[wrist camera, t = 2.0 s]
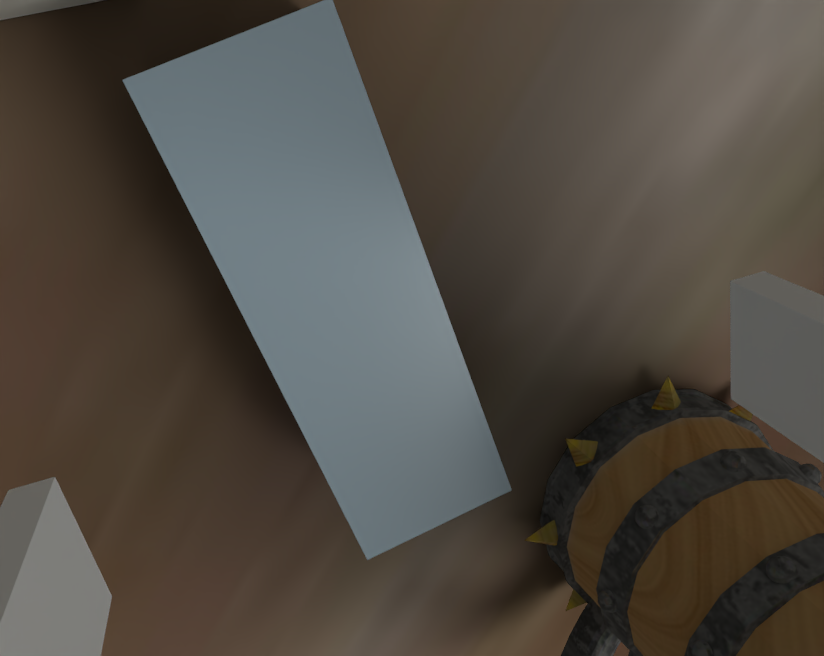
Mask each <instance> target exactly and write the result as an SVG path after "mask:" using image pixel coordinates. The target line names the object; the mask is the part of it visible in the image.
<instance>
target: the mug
mask: <svg viewBox="0 0 824 656" xmlns="http://www.w3.org/2000/svg"><path fill="white" fill-rule="evenodd" d="M752 415H753V414H752V413H751V412H749V411H748V410H746V409H745V408H743V407H742V406H741V405H739V406H737V407H735V408H733V409H732V408H731V407H730V406H728V405H727V404H725V403H723V402H721V401H718V400H716V399H714V398H712V397H710V396H708V395H706V394H704V393H701V392H699V391H697V390H695V389H680V390H675V389H674V387H673V385H672V383H671V381H670V379H669V377H668V376H667V378H666V380H665V382H664V384H663V386H662V388H661V390H652V391H650V392H647V393H645V394H642V395H640V396H638V397H635V398H633V399H630V400H628V401H625V402H623V403H621V404H618V405H616V406H613V407H611V408H609V409H608V410H607V411H606V412H605V413H603V414H602V415H601V416H600V417H599V418H597V419H596V420H595V421H594V422H593V423H592V424H590V425H589V426H588V427H587V428H586V429H585V430H583V431H582V432H581V433H580V434H579V435H577V436H576V437H575V438H574V439H566V442H567V444H568V448H567V449H566V451H565V453H564V454H563V456H562V458H561V459H560V461H559V463H558V464H557V466H556V467H555V469H554V471H553V472H552V474H551V476H550V477H549V479H548V482H547V487H546V492H545V497H544V502H543V507H542V512H541V517H540V523H541V527H542V528H540V529H539V530H538V531H536V532H535V533H534V534H532V535H531V536H530V537H528V538H527V539H526V540H525V541H531V542H537V543H542V544H546V546H547V550H548V554H549V556H550V557H551V559H552V560H553V561H554V562H555V563H556V564H557V565H558V566H559V567H560V568H561V569H562V570H563V571H564V575H565V579H566V581H567V583H568V584H569V585H570V586H571V587H572V588H573V592H572V595H571V597H570V600H569V603H568V606H567V608H566V611H567V610H570V609H572V608H574V607H577V606H579V605H582V604H584V603H586V602H587V603H588V604H587V606H586V607H585V609H584V610H583V612H582V613H581V615H580V617H579V619H578V621H577V623H576V624H575V626H574V628H573V630H572V632H571V634H570V636H569V638H568V640H567V643H566V645H565V647H564V650H563V652H562V654H561V656H613V654H614V653H615V651H616V649H617V647H618V645H619V644H620V642H622V643H623V644H624V645H625V646H626V647H627V648H628V649H629V650H630V652H629V656H824V492H823V490H822V489H821V487H820V486H819V485H818V483H819V482H820V480H821V476H822V475H821V472H820V471H819V470H818V468H816V467H815V466H814V465H812V464H803V465H800V464H799V463H798V462H796V461H794V460H792V459H790V458H788V457H785V456H783V455H781V454H779V453H777V452H774V451H773V449H772V448H771V446H770V445H769V443H768V442H767V440H766V438H765V437H764V435H763V434H762V432H761V431H760V429H759V427H758V426H757V425H756V424H754V423H753V422H751V418H752Z"/></svg>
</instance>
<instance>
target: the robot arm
mask: <svg viewBox="0 0 824 656" xmlns="http://www.w3.org/2000/svg"><path fill="white" fill-rule="evenodd" d="M730 307H731V399H732V400H733V401H735V402H736V403H738V404H739V405H741V406H742V407H743V408H745V409H746V410H748V411H749V412H751V413H752V414H754V415H755V416H757V417H758V418H759V419H761V420H762V421H764V422H765V423H767V424H768V425H770V426H771V427H773V428H774V429H775V430H777V431H778V432H780V433H781V434H783V435H784V436H786V437H787V438H789V439H790V440H791V441H793V442H794V443H796V444H797V445H799V446H800V447H802V448H803V449H804V450H806V451H807V452H809V453H810V454H812V455H813V456H815V457H816V458H818V459H819V460H820V461H822V462H823V463H824V296H823V295H820V294H818V293H815V292H813V291H811V290H808V289H806V288H803V287H801V286H799V285H796V284H794V283H791V282H789V281H786V280H784V279H782V278H779V277H777V276H774V275H772V274H769V273H767V272H765V271H763V272H759V273H756V274H753V275H749V276H746V277H742V278H739V279H735V280H732V281H730ZM111 599H112V595H111V593H110V591H109V589H108V587H107V585H106V583H105V581H104V579H103V576H102V574H101V572H100V570H99V568H98V566H97V564H96V562H95V560H94V558H93V556H92V553H91V551H90V549H89V547H88V545H87V543H86V541H85V539H84V537H83V535H82V533H81V530H80V528H79V526H78V524H77V522H76V520H75V518H74V516H73V514H72V512H71V509H70V507H69V505H68V503H67V501H66V499H65V497H64V495H63V493H62V491H61V489H60V486H59V484H58V482H57V480H56V478H55V477H52V478H49V479H45V480H42V481H39V482H35V483H32V484H28V485H25V486H21V487H18V488H14V489H11V490H8V492H7V494H6V497H5V499H4V501H3V503H2V505H1V507H0V656H101V651H102V646H103V641H104V636H105V630H106V625H107V620H108V614H109V609H110V604H111Z"/></svg>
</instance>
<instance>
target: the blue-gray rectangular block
mask: <svg viewBox="0 0 824 656" xmlns="http://www.w3.org/2000/svg"><path fill="white" fill-rule="evenodd" d="M123 82H124V84H125V86H126V88H127V90H128V92H129V94H130V96H131V98H132V100H133V102H134V104H135V106H136V108H137V110H138V112H139V114H140V116H141V118H142V120H143V122H144V124H145V125H146V127H147V129H148V131H149V133H150V135H151V137H152V139H153V141H154V143H155V145H156V147H157V149H158V151H159V153H160V155H161V157H162V159H163V161H164V163H165V165H166V167H167V169H168V171H169V172H170V174H171V176H172V178H173V180H174V182H175V184H176V186H177V188H178V190H179V192H180V194H181V196H182V198H183V200H184V202H185V204H186V206H187V208H188V210H189V212H190V214H191V216H192V217H193V219H194V221H195V223H196V225H197V227H198V229H199V231H200V233H201V235H202V237H203V239H204V241H205V243H206V245H207V247H208V249H209V251H210V253H211V255H212V257H213V259H214V261H215V263H216V264H217V266H218V268H219V270H220V272H221V274H222V276H223V278H224V280H225V282H226V284H227V286H228V288H229V290H230V292H231V294H232V296H233V298H234V300H235V302H236V304H237V306H238V308H239V310H240V311H241V313H242V315H243V317H244V319H245V321H246V323H247V325H248V327H249V329H250V331H251V333H252V335H253V337H254V339H255V341H256V343H257V345H258V347H259V349H260V351H261V353H262V355H263V357H264V358H265V360H266V362H267V364H268V366H269V368H270V370H271V372H272V374H273V376H274V378H275V380H276V382H277V384H278V386H279V388H280V390H281V392H282V394H283V396H284V398H285V400H286V402H287V403H288V405H289V407H290V409H291V411H292V413H293V415H294V417H295V419H296V421H297V423H298V425H299V427H300V429H301V431H302V433H303V435H304V437H305V439H306V441H307V443H308V445H309V447H310V449H311V450H312V452H313V454H314V456H315V458H316V460H317V462H318V464H319V466H320V468H321V470H322V472H323V474H324V476H325V478H326V480H327V482H328V484H329V486H330V488H331V490H332V492H333V494H334V496H335V497H336V499H337V501H338V503H339V505H340V507H341V509H342V511H343V513H344V515H345V517H346V519H347V521H348V523H349V525H350V527H351V529H352V531H353V533H354V535H355V537H356V539H357V541H358V543H359V544H360V546H361V548H362V550H363V552H364V554H365V556H366V558H367V560H369V559H371V558H373V557H375V556H377V555H379V554H381V553H383V552H385V551H387V550H389V549H391V548H393V547H395V546H398V545H400V544H402V543H404V542H406V541H408V540H410V539H412V538H414V537H416V536H418V535H420V534H422V533H424V532H427V531H429V530H431V529H433V528H435V527H437V526H439V525H441V524H443V523H445V522H447V521H449V520H451V519H453V518H456V517H458V516H460V515H462V514H464V513H466V512H468V511H470V510H472V509H474V508H476V507H478V506H480V505H482V504H485V503H487V502H489V501H491V500H493V499H495V498H497V497H499V496H501V495H503V494H505V493H507V492H509V491H511V490H512V489H511V486H510V484H509V481H508V478H507V475H506V473H505V470H504V467H503V465H502V462H501V459H500V456H499V454H498V451H497V448H496V445H495V443H494V440H493V437H492V434H491V432H490V429H489V426H488V424H487V421H486V418H485V415H484V413H483V410H482V407H481V404H480V402H479V399H478V396H477V393H476V391H475V388H474V385H473V383H472V380H471V377H470V374H469V372H468V369H467V366H466V363H465V361H464V358H463V355H462V352H461V350H460V347H459V344H458V342H457V339H456V336H455V333H454V331H453V328H452V325H451V322H450V320H449V317H448V314H447V311H446V309H445V306H444V303H443V301H442V298H441V295H440V292H439V290H438V287H437V284H436V281H435V279H434V276H433V273H432V270H431V268H430V265H429V262H428V260H427V257H426V254H425V251H424V249H423V246H422V243H421V240H420V238H419V235H418V232H417V229H416V227H415V224H414V221H413V218H412V216H411V213H410V210H409V208H408V205H407V202H406V199H405V197H404V194H403V191H402V188H401V186H400V183H399V180H398V177H397V175H396V172H395V169H394V167H393V164H392V161H391V158H390V156H389V153H388V150H387V147H386V145H385V142H384V139H383V136H382V134H381V131H380V128H379V126H378V123H377V120H376V117H375V115H374V112H373V109H372V106H371V104H370V101H369V98H368V95H367V93H366V90H365V87H364V85H363V82H362V79H361V76H360V74H359V71H358V68H357V65H356V63H355V60H354V57H353V54H352V52H351V49H350V46H349V44H348V41H347V38H346V35H345V33H344V30H343V27H342V24H341V22H340V19H339V16H338V13H337V11H336V8H335V5H334V2H333V0H324V1H321V2H318V3H316V4H313V5H311V6H308V7H306V8H303V9H301V10H298V11H296V12H293V13H290V14H288V15H285V16H283V17H280V18H278V19H275V20H273V21H270V22H268V23H265V24H263V25H260V26H258V27H255V28H252V29H250V30H247V31H245V32H242V33H240V34H237V35H235V36H232V37H230V38H227V39H225V40H222V41H220V42H217V43H214V44H212V45H209V46H207V47H204V48H202V49H199V50H197V51H194V52H192V53H189V54H187V55H184V56H182V57H179V58H176V59H174V60H171V61H169V62H166V63H164V64H161V65H159V66H156V67H154V68H151V69H149V70H146V71H144V72H141V73H139V74H136V75H133V76H131V77H128V78H126V79H123Z"/></svg>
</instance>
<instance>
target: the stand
mask: <svg viewBox="0 0 824 656" xmlns="http://www.w3.org/2000/svg"><path fill="white" fill-rule="evenodd" d="M99 1H105V0H0V20H5V19H10V18H15V17H20V16H26V15H31V14H36V13H41V12H47V11H52V10H57V9H62V8H68V7H73V6H78V5H84V4H89V3H94V2H99Z"/></svg>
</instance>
